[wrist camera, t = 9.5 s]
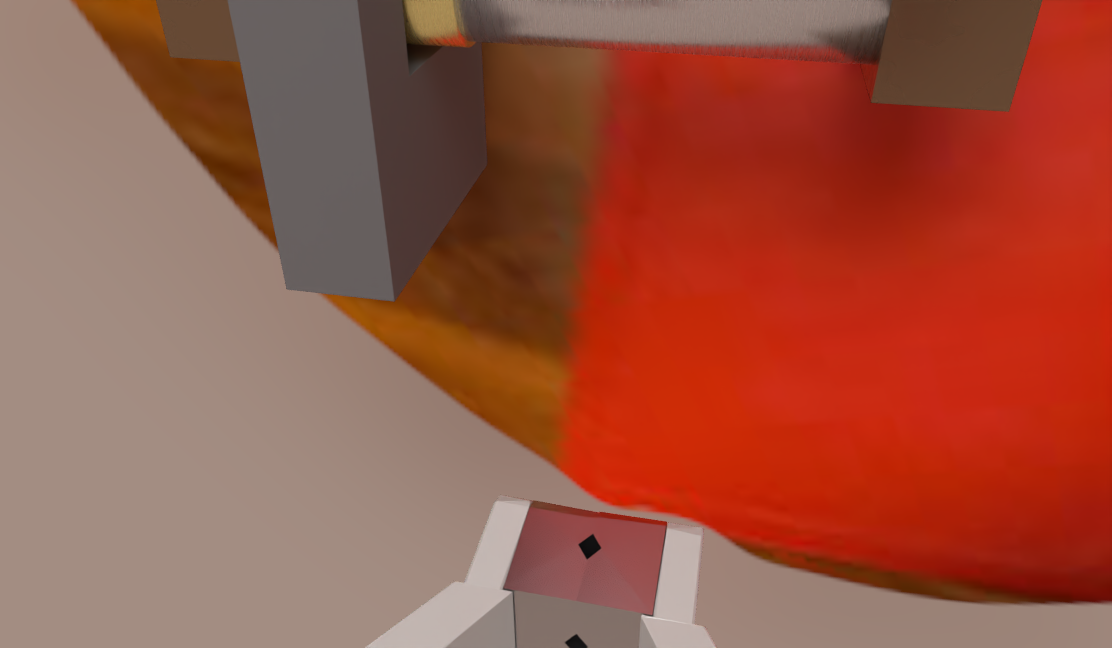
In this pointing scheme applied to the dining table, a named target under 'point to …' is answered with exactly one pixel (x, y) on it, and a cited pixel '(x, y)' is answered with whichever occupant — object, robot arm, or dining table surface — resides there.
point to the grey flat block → (357, 138)
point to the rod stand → (721, 36)
